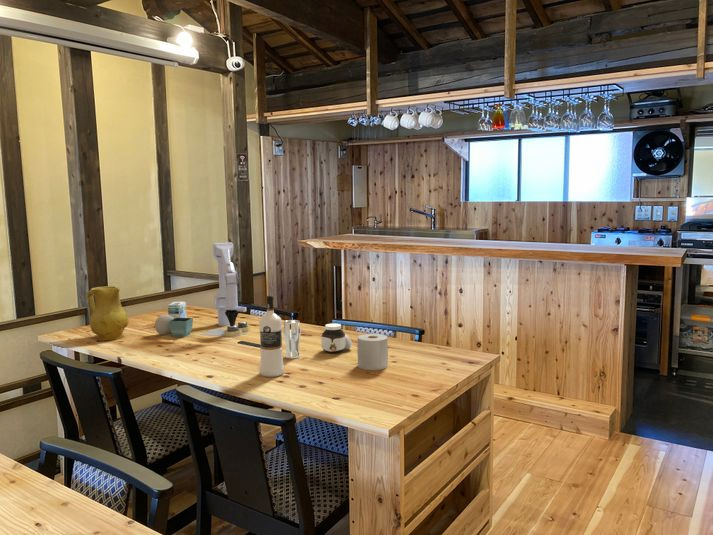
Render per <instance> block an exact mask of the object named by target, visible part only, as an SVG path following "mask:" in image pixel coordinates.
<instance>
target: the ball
mask: <svg viewBox="0 0 713 535" xmlns="http://www.w3.org/2000/svg"><path fill="white" fill-rule="evenodd" d="M172 319H174V318H173V317H172V316H170V315H168V314H162V315H160V316H158V317H157V318H156V320H155V321H154V329H155V331H156V332H157V334H159V335H161V336H167V335H169V334H171V331H170V326H169V321H170V320H172Z"/></svg>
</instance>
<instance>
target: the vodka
mask: <svg viewBox="0 0 713 535" xmlns="http://www.w3.org/2000/svg"><path fill="white" fill-rule="evenodd" d="M274 306H275V305H274V295H266V313H264V314H263V315H262V316H261V317H260V318H259V321H258V324H259V334H260V335H259V336H260V337H259V338H260V339H259V340H260V349H259V350H260V364H259V374H260V375H261V376H262V377H265V378H275V377H280V376H281V375H283V374H284V373H285V366H284V359H283V342H282V340H283V338H282V337H283V335H282V333H283V332H282V329H283V326H282V324H283V321H282V318H281V317H280V316H279V315H278V314H276V313H275V311H274V310H275V309H274Z"/></svg>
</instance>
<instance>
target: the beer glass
mask: <svg viewBox="0 0 713 535" xmlns="http://www.w3.org/2000/svg"><path fill="white" fill-rule="evenodd" d="M283 338H284V339H283V340H284V344H285V355H284V357H285V358H286V359H290V360H291V359H298V358H300V356H301V354H300V348H299V347H300V346H299V345H300V339H301V324H300V320H297V319H287V320H285V321H283Z"/></svg>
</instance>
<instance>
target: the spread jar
mask: <svg viewBox="0 0 713 535" xmlns="http://www.w3.org/2000/svg"><path fill="white" fill-rule="evenodd" d="M324 326H325V330H323V332H322V334H321V338H320V339H321V340H320V341H321V342H320V343H321V348H322V350H323V351H324V352H325V354H331V355H332V354H333V355H337V354H341V353H342V352H343V351H344V350H349V349H351V348H352V347H353V340H352V339H351V337H350V336H349V335H348V334H346V333H345V332H344V330H343V329H342V324H341V323H327V324H325V325H324Z"/></svg>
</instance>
